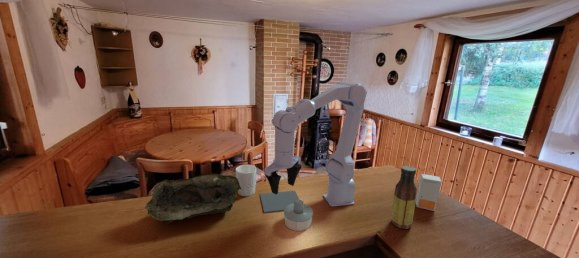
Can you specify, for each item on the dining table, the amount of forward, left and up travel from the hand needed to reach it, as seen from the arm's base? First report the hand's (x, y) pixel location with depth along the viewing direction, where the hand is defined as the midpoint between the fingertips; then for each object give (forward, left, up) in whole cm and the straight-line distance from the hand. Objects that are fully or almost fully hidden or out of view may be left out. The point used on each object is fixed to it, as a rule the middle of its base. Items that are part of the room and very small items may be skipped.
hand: (283, 188), depth 77 cm
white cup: (+11, -18, -10) cm, 23 cm away
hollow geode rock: (+27, -5, -11) cm, 30 cm away
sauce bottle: (-37, +11, -10) cm, 40 cm away
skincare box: (-53, +4, -10) cm, 54 cm away
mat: (-1, -9, -10) cm, 13 cm away
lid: (-4, +4, -7) cm, 9 cm away
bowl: (-4, +4, -10) cm, 12 cm away
